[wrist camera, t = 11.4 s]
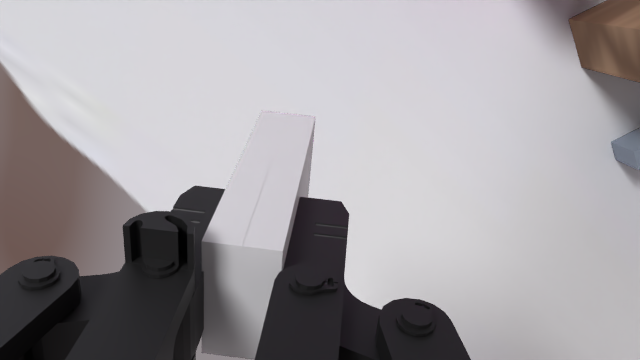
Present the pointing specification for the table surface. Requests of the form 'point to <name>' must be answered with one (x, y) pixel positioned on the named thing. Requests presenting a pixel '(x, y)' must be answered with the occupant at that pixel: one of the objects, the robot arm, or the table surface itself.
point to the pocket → (628, 149)
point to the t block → (609, 38)
